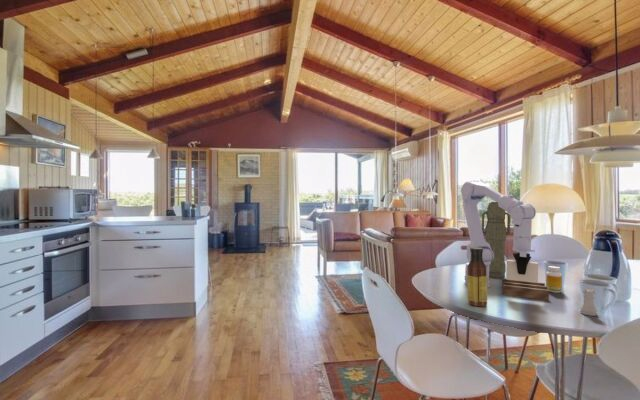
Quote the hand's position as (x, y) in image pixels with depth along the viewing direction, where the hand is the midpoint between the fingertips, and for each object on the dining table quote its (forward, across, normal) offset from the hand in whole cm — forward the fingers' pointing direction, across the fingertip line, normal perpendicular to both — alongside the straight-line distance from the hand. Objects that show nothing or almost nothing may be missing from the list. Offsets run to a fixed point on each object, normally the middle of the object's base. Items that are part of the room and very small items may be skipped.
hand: (521, 273), depth 130 cm
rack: (+9, +9, -2) cm, 13 cm away
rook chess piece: (+10, -9, -19) cm, 23 cm away
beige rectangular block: (+3, 0, 0) cm, 3 cm away
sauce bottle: (+10, -16, +14) cm, 24 cm away
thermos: (+10, +34, +9) cm, 36 cm away
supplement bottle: (+10, +18, -12) cm, 24 cm away
